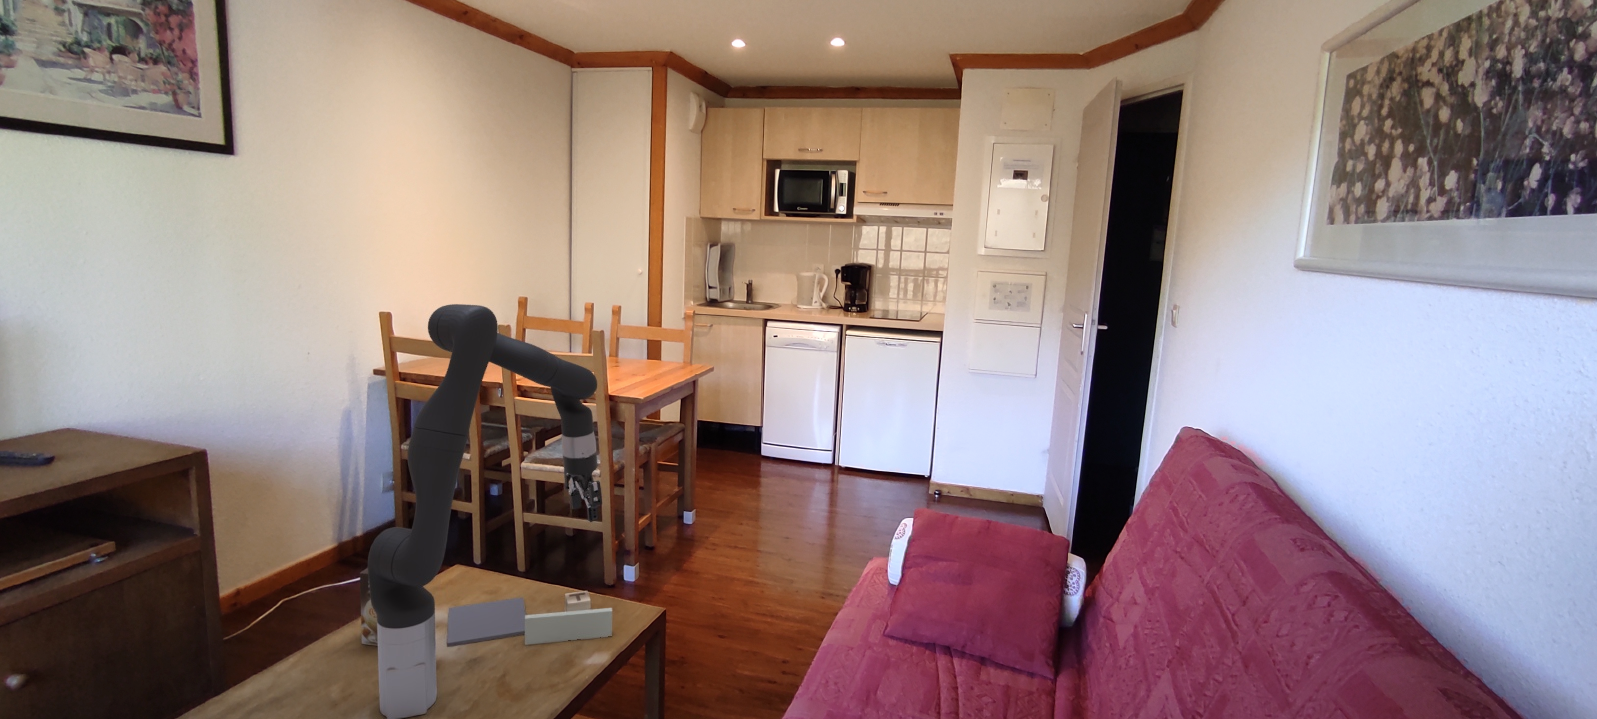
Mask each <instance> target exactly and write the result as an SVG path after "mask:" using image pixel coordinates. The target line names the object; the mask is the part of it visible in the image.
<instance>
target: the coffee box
mask: <svg viewBox="0 0 1597 719" xmlns="http://www.w3.org/2000/svg"><path fill="white" fill-rule="evenodd" d="M359 585H360V586H359V587H360V589H359V590H360V591H359V594H360V621H361V624H360V628H361V630H360V631H361V633H360V634H361V644H362V645H369V646H376V647H378V633H377V615H376V612H375V611H374V609H373V607H372V604H371V598H370V587H369V577H368V566H367V567H366V568H365V569H364V570H362V571H360V572H359Z"/></svg>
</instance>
